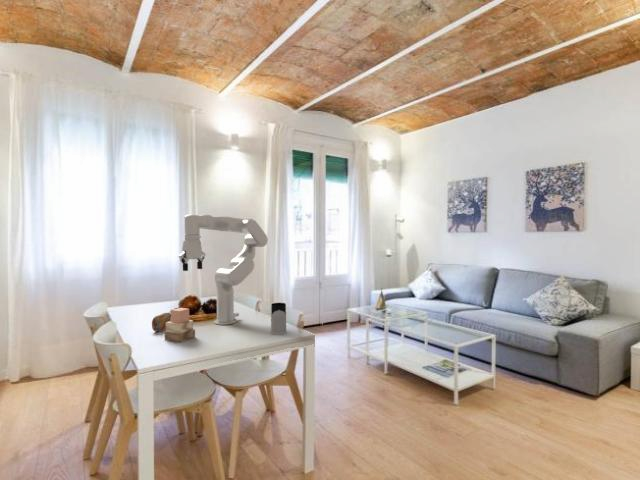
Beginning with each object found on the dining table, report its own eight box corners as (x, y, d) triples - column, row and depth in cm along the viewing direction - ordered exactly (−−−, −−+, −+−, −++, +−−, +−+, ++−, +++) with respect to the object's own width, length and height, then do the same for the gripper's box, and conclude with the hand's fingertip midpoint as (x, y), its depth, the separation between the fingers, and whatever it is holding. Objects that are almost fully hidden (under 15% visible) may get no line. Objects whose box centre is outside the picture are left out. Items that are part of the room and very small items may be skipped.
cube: (181, 319, 191) (180, 307, 191) (189, 320, 188) (189, 308, 188) (171, 322, 186) (170, 309, 186) (179, 323, 183) (179, 311, 183)
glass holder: (270, 335, 192) (270, 306, 192) (269, 328, 206) (269, 300, 206) (287, 334, 194) (287, 305, 193) (285, 327, 208) (285, 300, 207)
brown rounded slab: (156, 333, 196) (155, 317, 196) (150, 333, 197) (150, 317, 196) (173, 326, 211) (172, 311, 211) (168, 325, 211) (167, 311, 211)
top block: (180, 327, 193) (179, 318, 193) (193, 329, 189) (193, 320, 189) (165, 331, 185) (165, 322, 185) (179, 333, 181) (178, 324, 181)
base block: (181, 335, 194) (181, 326, 194) (195, 338, 189) (195, 329, 189) (164, 340, 185) (164, 331, 185) (178, 343, 180) (178, 334, 180)
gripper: (199, 237, 211) (200, 268, 212) (174, 238, 196) (174, 271, 197) (209, 237, 207) (209, 268, 208) (184, 238, 192) (184, 271, 193)
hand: (192, 269), depth 202 cm, fingers open, 9 cm apart
